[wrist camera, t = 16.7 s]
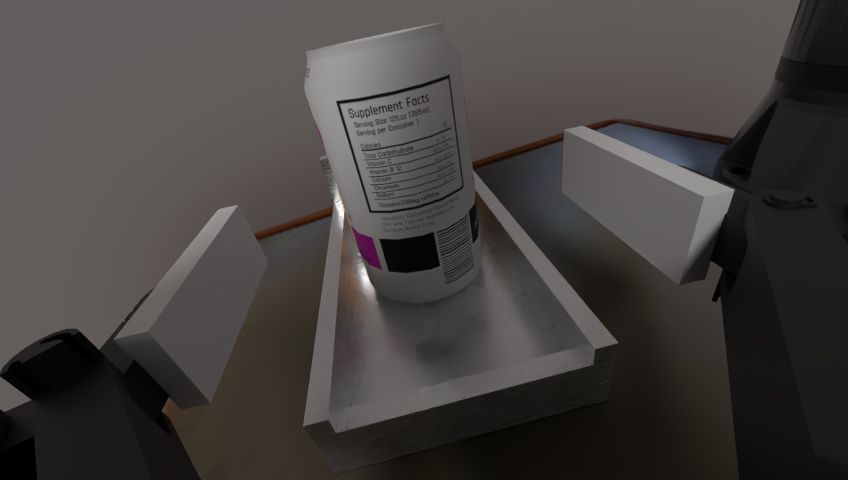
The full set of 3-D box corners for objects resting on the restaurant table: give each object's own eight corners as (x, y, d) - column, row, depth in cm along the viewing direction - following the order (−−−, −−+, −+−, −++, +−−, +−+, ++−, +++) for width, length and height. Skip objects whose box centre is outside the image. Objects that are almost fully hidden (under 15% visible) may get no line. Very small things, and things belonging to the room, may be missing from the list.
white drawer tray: (608, 400, 16) (632, 265, 12) (335, 474, 16) (258, 360, 11) (474, 203, 35) (464, 123, 30) (347, 233, 34) (320, 156, 30)
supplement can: (349, 295, 24) (257, 62, 17) (409, 233, 30) (362, 37, 22) (452, 324, 20) (396, 35, 12) (499, 247, 26) (481, 13, 18)
